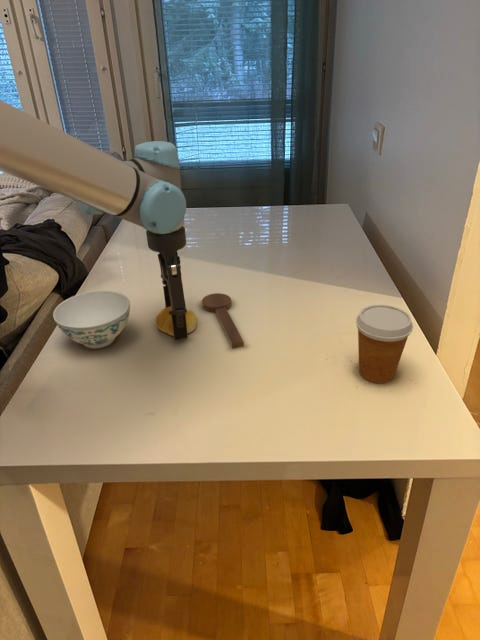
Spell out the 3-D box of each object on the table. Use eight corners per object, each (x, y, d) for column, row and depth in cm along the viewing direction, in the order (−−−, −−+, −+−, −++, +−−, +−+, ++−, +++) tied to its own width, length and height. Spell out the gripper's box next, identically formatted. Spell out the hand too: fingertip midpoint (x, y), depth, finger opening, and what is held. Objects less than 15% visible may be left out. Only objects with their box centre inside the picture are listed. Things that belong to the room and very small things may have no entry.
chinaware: (83, 318, 106) (76, 288, 102) (145, 324, 103) (141, 293, 99) (47, 356, 93) (37, 323, 89) (117, 364, 90) (110, 330, 86)
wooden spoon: (221, 350, 93) (221, 344, 92) (199, 301, 111) (199, 295, 110) (254, 344, 95) (253, 338, 94) (227, 296, 113) (226, 291, 112)
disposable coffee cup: (349, 385, 83) (355, 328, 77) (351, 355, 91) (357, 301, 84) (405, 392, 81) (416, 334, 74) (402, 360, 89) (412, 305, 82)
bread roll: (179, 341, 96) (177, 325, 94) (150, 327, 101) (147, 312, 99) (206, 324, 102) (205, 308, 100) (177, 312, 107) (175, 297, 105)
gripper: (196, 246, 81) (204, 350, 92) (174, 207, 100) (184, 297, 112) (153, 252, 79) (167, 357, 91) (139, 211, 99) (152, 302, 110)
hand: (176, 324), depth 101 cm, fingers open, 11 cm apart
